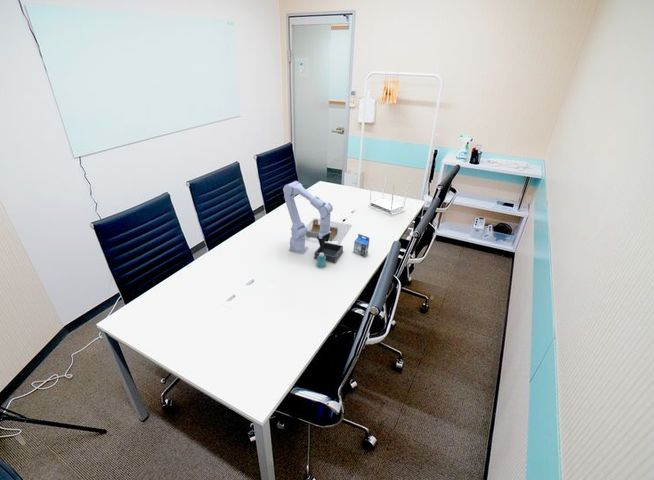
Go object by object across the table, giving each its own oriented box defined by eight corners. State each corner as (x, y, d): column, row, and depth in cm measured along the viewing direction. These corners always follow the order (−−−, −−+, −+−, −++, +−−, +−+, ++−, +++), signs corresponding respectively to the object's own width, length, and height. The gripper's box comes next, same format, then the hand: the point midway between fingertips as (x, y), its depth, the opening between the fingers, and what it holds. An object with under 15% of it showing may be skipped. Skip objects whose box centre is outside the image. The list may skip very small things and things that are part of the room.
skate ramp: (296, 238, 232) (296, 228, 228) (314, 218, 259) (314, 209, 255) (336, 245, 222) (337, 235, 218) (350, 225, 250) (351, 215, 246)
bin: (314, 258, 208) (314, 252, 206) (323, 247, 220) (323, 241, 218) (335, 263, 204) (335, 257, 201) (342, 251, 216) (343, 245, 214)
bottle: (315, 266, 200) (316, 254, 195) (318, 262, 204) (319, 250, 199) (323, 268, 198) (324, 256, 194) (326, 264, 202) (327, 252, 198)
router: (382, 201, 291) (386, 174, 278) (405, 210, 274) (410, 182, 261) (367, 206, 281) (370, 178, 268) (389, 216, 264) (394, 186, 251)
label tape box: (352, 252, 215) (354, 235, 209) (356, 250, 218) (358, 233, 211) (364, 257, 210) (366, 239, 204) (367, 254, 213) (370, 237, 206)
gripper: (327, 230, 189) (326, 250, 196) (335, 220, 200) (334, 240, 207) (315, 227, 191) (315, 248, 199) (324, 218, 203) (323, 238, 210)
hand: (324, 244), depth 203 cm, fingers open, 7 cm apart
